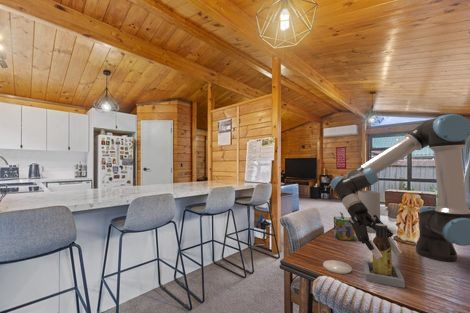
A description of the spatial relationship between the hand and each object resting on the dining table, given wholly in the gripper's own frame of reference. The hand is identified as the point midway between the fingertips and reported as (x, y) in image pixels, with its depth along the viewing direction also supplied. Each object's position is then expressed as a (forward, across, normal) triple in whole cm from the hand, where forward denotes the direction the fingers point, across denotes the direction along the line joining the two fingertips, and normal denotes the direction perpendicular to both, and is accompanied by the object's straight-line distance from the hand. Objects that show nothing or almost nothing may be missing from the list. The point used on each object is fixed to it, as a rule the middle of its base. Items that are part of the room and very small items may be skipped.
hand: (389, 256), depth 87 cm
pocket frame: (+4, 0, -8) cm, 9 cm away
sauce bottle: (+4, 0, -9) cm, 10 cm away
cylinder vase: (-30, -49, -42) cm, 71 cm away
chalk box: (-25, -21, -37) cm, 49 cm away
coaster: (-4, +11, -16) cm, 20 cm away
